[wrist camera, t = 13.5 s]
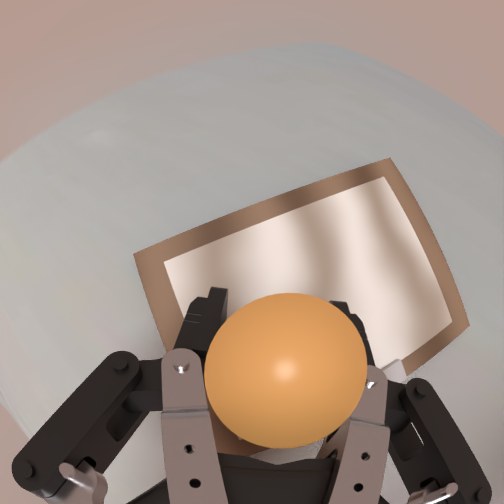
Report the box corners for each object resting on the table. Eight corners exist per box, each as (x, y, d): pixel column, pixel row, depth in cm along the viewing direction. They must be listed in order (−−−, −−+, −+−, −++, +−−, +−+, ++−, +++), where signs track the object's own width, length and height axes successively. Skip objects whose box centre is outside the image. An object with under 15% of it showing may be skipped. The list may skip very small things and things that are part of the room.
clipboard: (385, 163, 22) (393, 152, 20) (462, 325, 18) (475, 324, 17) (138, 257, 20) (128, 250, 18) (222, 458, 16) (220, 468, 14)
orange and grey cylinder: (280, 303, 18) (329, 266, 7) (306, 361, 17) (386, 402, 6) (219, 328, 17) (178, 330, 7) (245, 387, 16) (245, 468, 6)
